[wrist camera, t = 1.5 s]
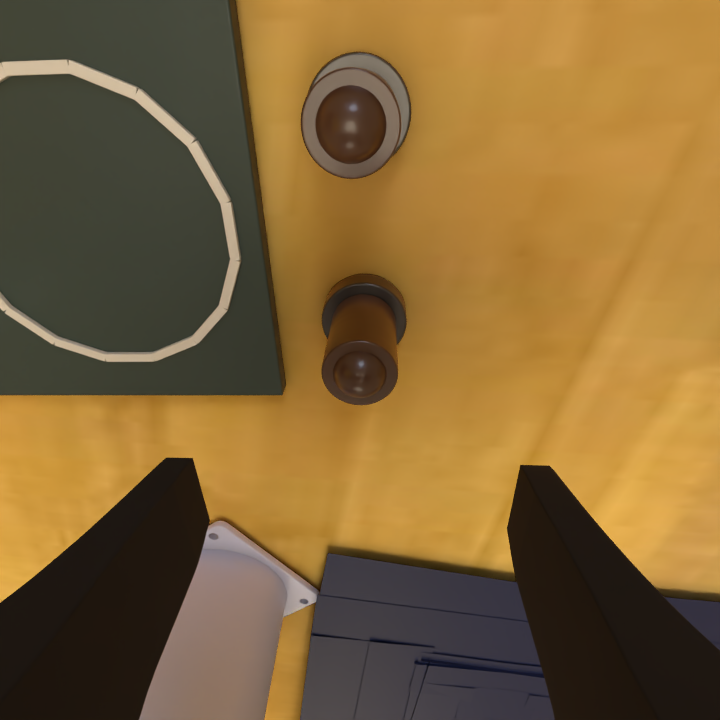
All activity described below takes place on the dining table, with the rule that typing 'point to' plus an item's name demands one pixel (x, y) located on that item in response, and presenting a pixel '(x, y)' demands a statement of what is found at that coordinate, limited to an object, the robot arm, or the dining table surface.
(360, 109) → the stamp
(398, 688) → the dark blue flat slab
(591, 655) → the robot arm
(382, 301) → the stamp
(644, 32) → the dining table surface
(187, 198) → the slate board
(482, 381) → the dining table surface
